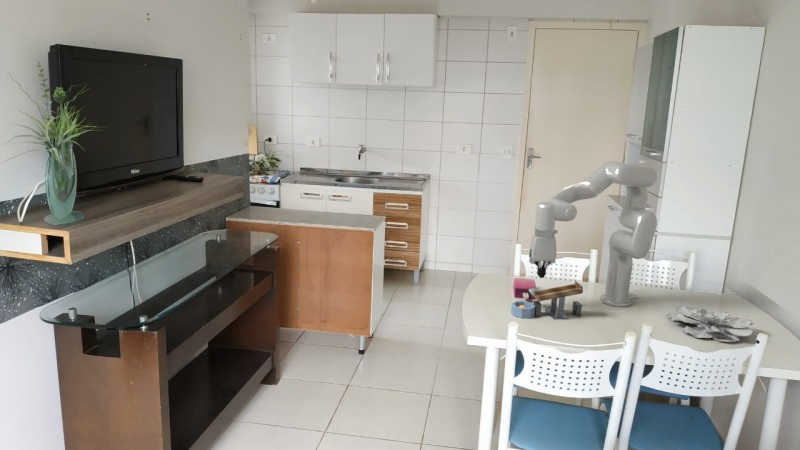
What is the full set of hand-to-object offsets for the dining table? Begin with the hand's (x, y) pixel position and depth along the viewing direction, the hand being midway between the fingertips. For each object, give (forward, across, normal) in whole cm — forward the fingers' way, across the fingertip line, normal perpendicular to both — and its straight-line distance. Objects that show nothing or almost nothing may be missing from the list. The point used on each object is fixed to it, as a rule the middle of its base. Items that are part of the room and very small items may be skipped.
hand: (541, 276), depth 235 cm
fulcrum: (+14, -5, +7) cm, 16 cm away
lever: (+6, -5, +3) cm, 8 cm away
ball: (+11, +9, +7) cm, 16 cm away
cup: (+13, +9, +7) cm, 17 cm away
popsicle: (+14, +1, -16) cm, 22 cm away
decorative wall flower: (+16, -62, +20) cm, 67 cm away
